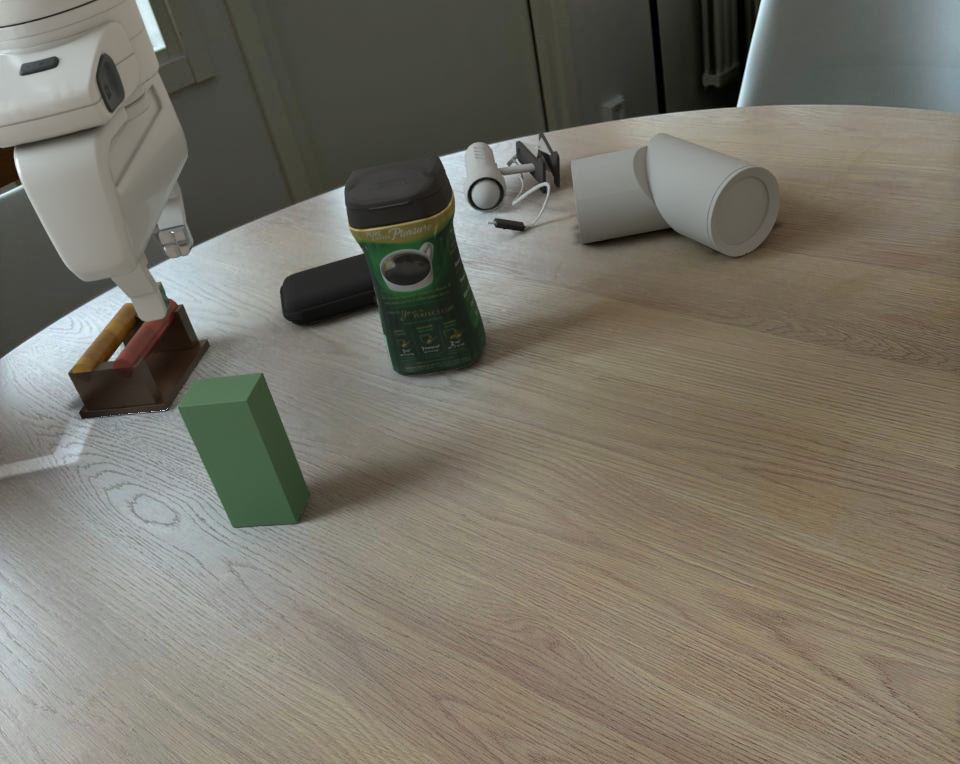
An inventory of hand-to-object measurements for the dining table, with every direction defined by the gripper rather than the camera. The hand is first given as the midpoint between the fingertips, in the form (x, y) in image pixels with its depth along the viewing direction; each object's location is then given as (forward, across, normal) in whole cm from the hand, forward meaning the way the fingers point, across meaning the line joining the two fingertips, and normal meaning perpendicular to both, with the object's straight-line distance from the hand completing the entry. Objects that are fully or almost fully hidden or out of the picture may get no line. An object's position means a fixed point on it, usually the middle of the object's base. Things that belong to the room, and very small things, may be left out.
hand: (170, 282), depth 70 cm
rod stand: (+23, -34, -18) cm, 45 cm away
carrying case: (+23, -43, +3) cm, 49 cm away
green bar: (+23, -5, -1) cm, 24 cm away
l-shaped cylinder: (+23, -41, +40) cm, 61 cm away
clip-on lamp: (+23, -59, +23) cm, 68 cm away
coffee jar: (+23, -26, +14) cm, 37 cm away
